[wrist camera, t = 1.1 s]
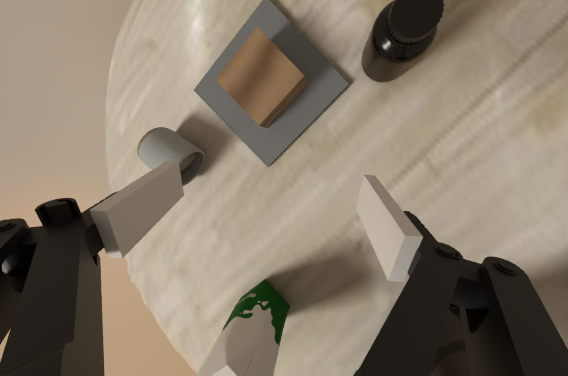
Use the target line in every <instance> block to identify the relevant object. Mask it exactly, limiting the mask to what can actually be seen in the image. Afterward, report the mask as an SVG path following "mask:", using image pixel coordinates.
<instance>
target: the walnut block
mask: <svg viewBox="0 0 568 376" xmlns="http://www.w3.org/2000/svg"><path fill="white" fill-rule="evenodd" d="M215 80H216V81H217V82H218V84H219V85H220V86H221V87H222V88H223V89H224V90H225V91H226V92H227V93H228V94H229V95H230V96H231V97H232V98H233V99H234V100H235V101H236V102H237V103H238V104H239V105H240V106H241V107H242V108H243V109H244V111H245V112H246V113H247V114H248V115H249V116H250V117H251V118H252V119H253V120H254V121H255V122H256V123H257V124H258V125H259V126H262V127H265V128H268V127H269V126H270V125H271V124H272V123H273V122H274V121H275V119H276V118H277V117H278V116H279V115H280V114H281V113H282V112H283V111H284V110H285V109H286V108H287V106H288V105H289V104H290V103H291V102H292V101H293V100H294V99H295V98H296V97H297V96H298V95H299V94H300V92H301V91H302V90H303V89H304V88H305V87H306V86H307V84H306V80H305V76H304V75H303V74H302V73H301V72H300V70H299V69H298V68H297V67H296V66H295V65H294V64H293V63H292V62H291V61H290V60H289V59H288V58H287V57H286V56H285V55H284V54H283V53H282V52H281V51H280V49H279V48H278V47H277V46H276V45H275V44H274V43H273V42H272V41H271V40H270V39H269V38H268V37H267V36H266V35H265V34H264V33H263V32H262V31H261V30H260V28H259V27H258V26H257V27H256V29H255V30H254V31H253V32H252V34H251V35H250V36H249V37H248V39H247V40H246V41H245V42H244V44H243V45H242V46H241V48H240V49H239V50H238V51H237V53H236V54H235V55H234V56H233V58H232V59H231V60H230V61H229V63H228V64H227V65H226V67H225V68H224V69H223V70H222V72H221V73H220V74H219V75H218V77H217V78H216V79H215Z"/></svg>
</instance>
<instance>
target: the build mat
mask: <svg viewBox="0 0 568 376" xmlns="http://www.w3.org/2000/svg"><path fill="white" fill-rule="evenodd" d="M257 26H258V27H259V28H260V30H261V31H262V32H263V33H264V34H265V35H266V36H267V37H268V38H269V39H270V40H271V41H272V42H273V43H274V44H275V45H276V46H277V47H278V48H279V49H280V51H281V52H282V53H283V54H284V55H285V56H286V57H287V58H288V59H289V60H290V61H291V62H292V63H293V64H294V65H295V66H296V67H297V68H298V69H299V70H300V72H301V73H302V74H303V75H304V76H305V80H306V84H307V86H306V87H305V88H304V89H303V90H302V91H301V92H300V94H299V95H298V96H297V97H296V98H295V99H294V100H293V101H292V102H291V103H290V104H289V105H288V106H287V108H286V109H285V110H284V111H283V112H282V113H281V114H280V115H279V116H278V117H277V118H276V119H275V121H274V122H273V123H272V124H271V125H270V126H269V127H268V128H265V127H262V126H259V125H258V124H257V123H256V122H255V121H254V120H253V119H252V118H251V117H250V116H249V115H248V114H247V113H246V112H245V111H244V109H243V108H242V107H241V106H240V105H239V104H238V103H237V102H236V101H235V100H234V99H233V98H232V97H231V96H230V95H229V94H228V93H227V92H226V91H225V90H224V89H223V88H222V87H221V86H220V85H219V84H218V82H217V81H216V80H215V79H216V78H217V77H218V75H219V74H220V73H221V72H222V70H223V69H224V68H225V67H226V65H227V64H228V63H229V61H230V60H231V59H232V58H233V56H234V55H235V54H236V53H237V51H238V50H239V49H240V48H241V46H242V45H243V44H244V42H245V41H246V40H247V39H248V37H249V36H250V35H251V34H252V32H253V31H254V30H255V29H256V27H257ZM348 86H349V83H348V82H347V81H346V80H345V79H344V78H343V77H342V76H341V75H340V74H339V73H338V72H337V70H336V69H335V68H334V67H333V66H332V65H331V64H330V63H329V62H328V61H327V60H326V59H325V58H324V57H323V56H322V55H321V54H320V53H319V51H318V50H317V49H316V48H315V47H314V46H313V45H312V44H311V43H310V42H309V41H308V40H307V39H306V38H305V37H304V36H303V35H302V34H301V33H300V31H299V30H298V29H297V28H296V27H295V26H294V25H293V24H292V23H291V22H290V21H289V20H288V19H287V18H286V17H285V16H284V15H283V14H282V12H281V11H280V10H279V9H278V8H277V7H276V6H275V5H274V4H273V3H272V2H271V1H270V0H263V1H262V2H261V3H260V4H259V6H258V7H257V8H256V10H255V11H254V12H253V14H252V15H251V16H250V17H249V19H248V20H247V21H246V23H245V24H244V25H243V27H242V28H241V29H240V30H239V32H238V33H237V34H236V36H235V37H234V38H233V40H232V41H231V42H230V43H229V45H228V46H227V47H226V49H225V50H224V51H223V53H222V54H221V55H220V56H219V58H218V59H217V60H216V62H215V63H214V64H213V66H212V67H211V68H210V69H209V71H208V72H207V73H206V75H205V76H204V77H203V79H202V80H201V81H200V82H199V84H198V85H197V86H196V88H195V89H194V91H195V92H196V93H197V94H198V95H199V96H200V97H201V98H202V99H203V100H204V101H205V103H206V104H207V105H208V106H209V107H210V108H211V109H212V110H213V111H214V112H215V113H216V114H217V115H218V116H219V117H220V118H221V119H222V120H223V121H224V122H225V123H226V124H227V125H228V126H229V127H230V128H231V129H232V130H233V131H234V133H235V134H236V135H237V136H238V137H239V138H240V139H241V140H242V141H243V142H244V143H245V144H246V145H247V146H248V147H249V148H250V149H251V150H252V151H253V152H254V153H255V154H256V155H257V156H258V157H259V158H260V159H261V160H262V162H263V163H264V164H265V165H266V166H267V167H269V166H270V165H271V164H272V163H273V162H274V161H275V160H276V159H277V158H278V157H279V156H280V155H281V154H282V153H283V152H284V151H285V150H286V149H287V148H288V147H289V146H290V145H291V144H292V143H293V141H294V140H295V139H296V138H297V137H298V136H299V135H300V134H301V133H302V132H303V131H304V130H305V129H306V128H307V127H308V126H309V125H310V124H311V123H312V122H313V121H314V120H315V119H316V118H317V117H318V116H319V115H320V114H321V113H322V112H323V111H324V110H325V109H326V108H327V107H328V106H329V105H330V104H331V103H332V102H333V101H334V100H335V99H336V98H337V97H338V96H339V95H340V94H341V93H342V92H343V91H344V90H345V89H346V88H347V87H348Z"/></svg>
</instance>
